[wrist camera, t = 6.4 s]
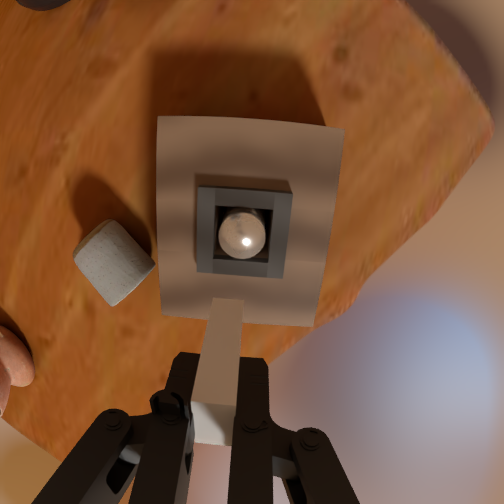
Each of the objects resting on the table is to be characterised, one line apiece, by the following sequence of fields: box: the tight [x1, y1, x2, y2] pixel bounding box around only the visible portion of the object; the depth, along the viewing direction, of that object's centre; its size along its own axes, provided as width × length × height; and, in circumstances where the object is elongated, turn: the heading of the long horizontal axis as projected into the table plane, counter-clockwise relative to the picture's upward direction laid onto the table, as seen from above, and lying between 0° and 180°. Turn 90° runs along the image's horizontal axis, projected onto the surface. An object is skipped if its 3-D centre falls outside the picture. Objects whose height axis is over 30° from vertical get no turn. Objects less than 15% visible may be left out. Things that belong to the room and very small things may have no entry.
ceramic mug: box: [73, 219, 155, 306], centre depth 36 cm, size 11×8×8 cm
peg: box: [219, 206, 265, 259], centre depth 32 cm, size 4×4×8 cm
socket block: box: [156, 116, 345, 327], centre depth 32 cm, size 20×16×9 cm
